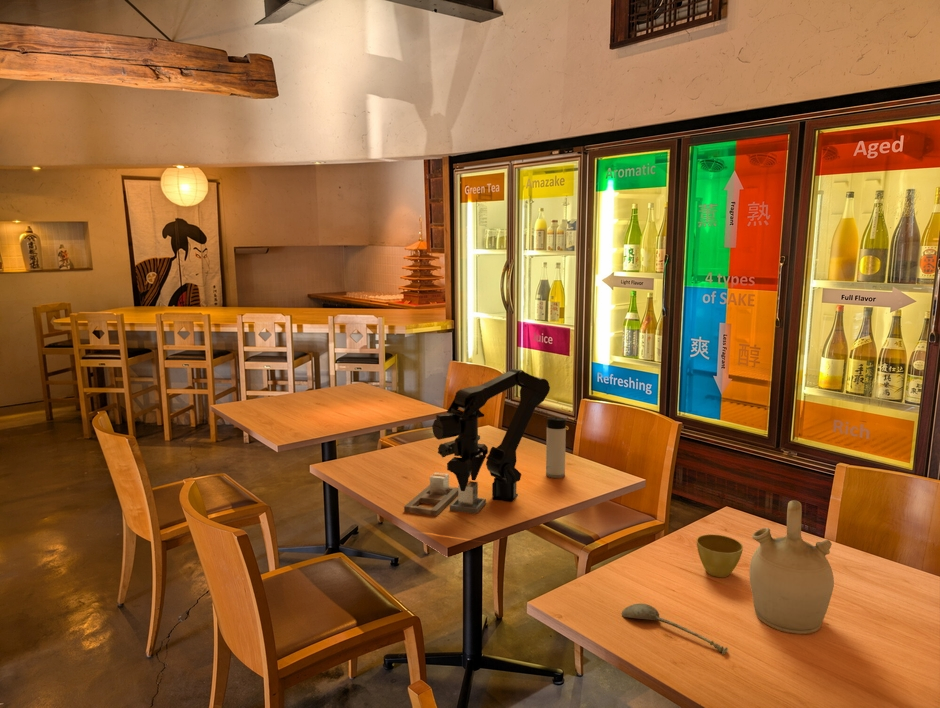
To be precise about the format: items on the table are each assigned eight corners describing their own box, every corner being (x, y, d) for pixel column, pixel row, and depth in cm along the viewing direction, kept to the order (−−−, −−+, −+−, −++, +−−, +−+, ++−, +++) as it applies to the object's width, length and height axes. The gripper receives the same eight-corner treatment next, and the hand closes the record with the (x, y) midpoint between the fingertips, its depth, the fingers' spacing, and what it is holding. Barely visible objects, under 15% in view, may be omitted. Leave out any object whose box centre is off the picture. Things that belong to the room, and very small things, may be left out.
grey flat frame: (460, 494, 202) (460, 488, 201) (436, 517, 184) (436, 510, 184) (430, 490, 205) (430, 484, 205) (404, 512, 187) (404, 506, 187)
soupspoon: (632, 607, 140) (615, 620, 135) (632, 593, 139) (614, 605, 135) (733, 648, 124) (717, 664, 119) (733, 632, 123) (717, 647, 119)
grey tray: (485, 504, 193) (485, 498, 193) (476, 515, 186) (476, 509, 185) (459, 501, 196) (459, 495, 196) (449, 511, 188) (449, 505, 188)
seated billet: (449, 495, 200) (448, 473, 199) (443, 501, 196) (443, 478, 195) (435, 494, 202) (435, 471, 201) (430, 499, 198) (429, 476, 197)
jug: (733, 618, 133) (741, 501, 129) (764, 590, 144) (772, 482, 140) (814, 650, 122) (825, 524, 119) (840, 618, 133) (851, 501, 129)
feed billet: (463, 503, 193) (463, 479, 192) (477, 504, 192) (477, 481, 191) (458, 508, 189) (458, 484, 188) (472, 510, 188) (472, 486, 187)
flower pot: (719, 559, 159) (721, 531, 158) (751, 578, 150) (753, 548, 148) (685, 566, 155) (687, 537, 154) (715, 586, 146) (717, 556, 145)
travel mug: (542, 476, 217) (543, 418, 214) (549, 471, 223) (550, 413, 220) (560, 479, 214) (561, 420, 211) (567, 473, 220) (568, 416, 217)
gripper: (453, 423, 199) (453, 472, 201) (429, 439, 181) (430, 493, 184) (488, 426, 195) (488, 476, 197) (467, 443, 178) (467, 498, 180)
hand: (468, 485), depth 190 cm, fingers open, 9 cm apart
